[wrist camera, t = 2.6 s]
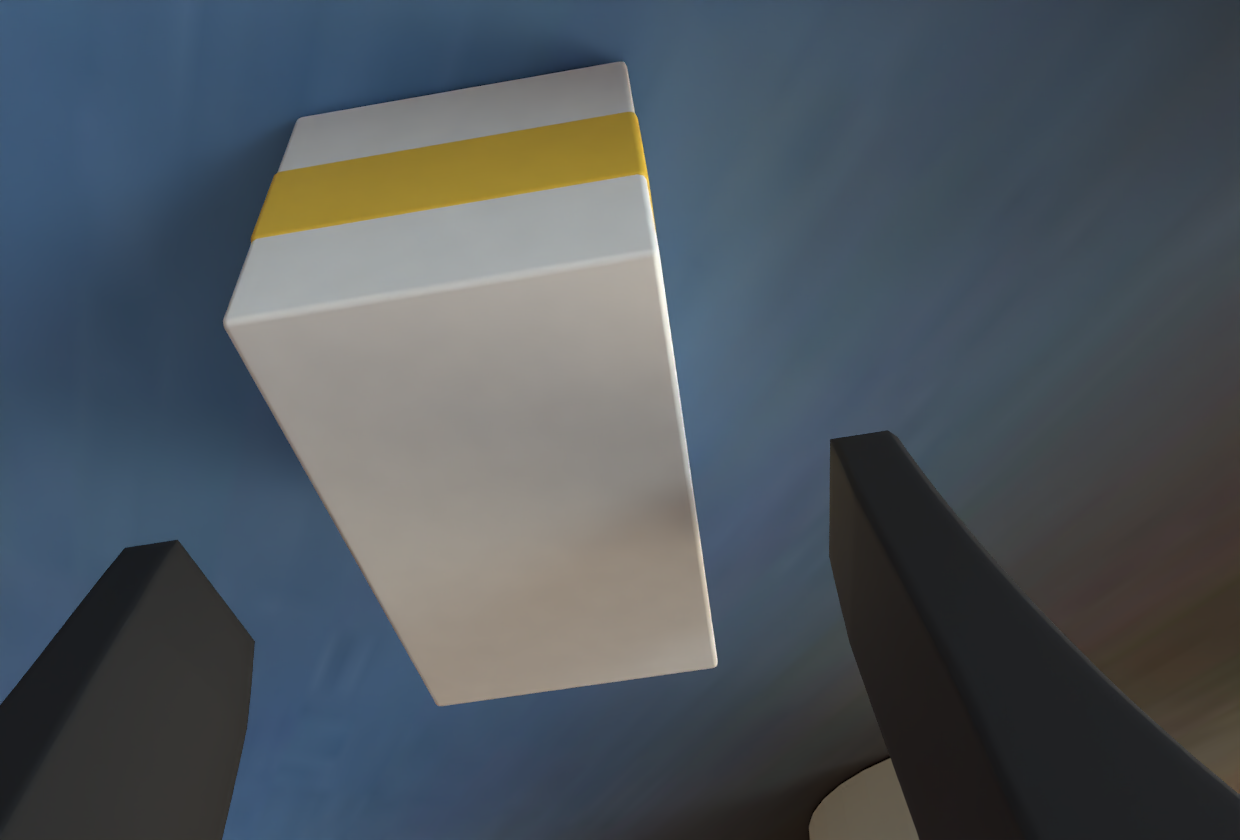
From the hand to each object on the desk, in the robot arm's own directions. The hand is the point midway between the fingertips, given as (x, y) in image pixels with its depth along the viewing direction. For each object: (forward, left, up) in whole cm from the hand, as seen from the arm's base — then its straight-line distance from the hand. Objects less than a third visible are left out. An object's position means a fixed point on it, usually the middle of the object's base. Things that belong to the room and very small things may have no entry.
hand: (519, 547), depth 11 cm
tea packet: (0, 0, -4) cm, 4 cm away
